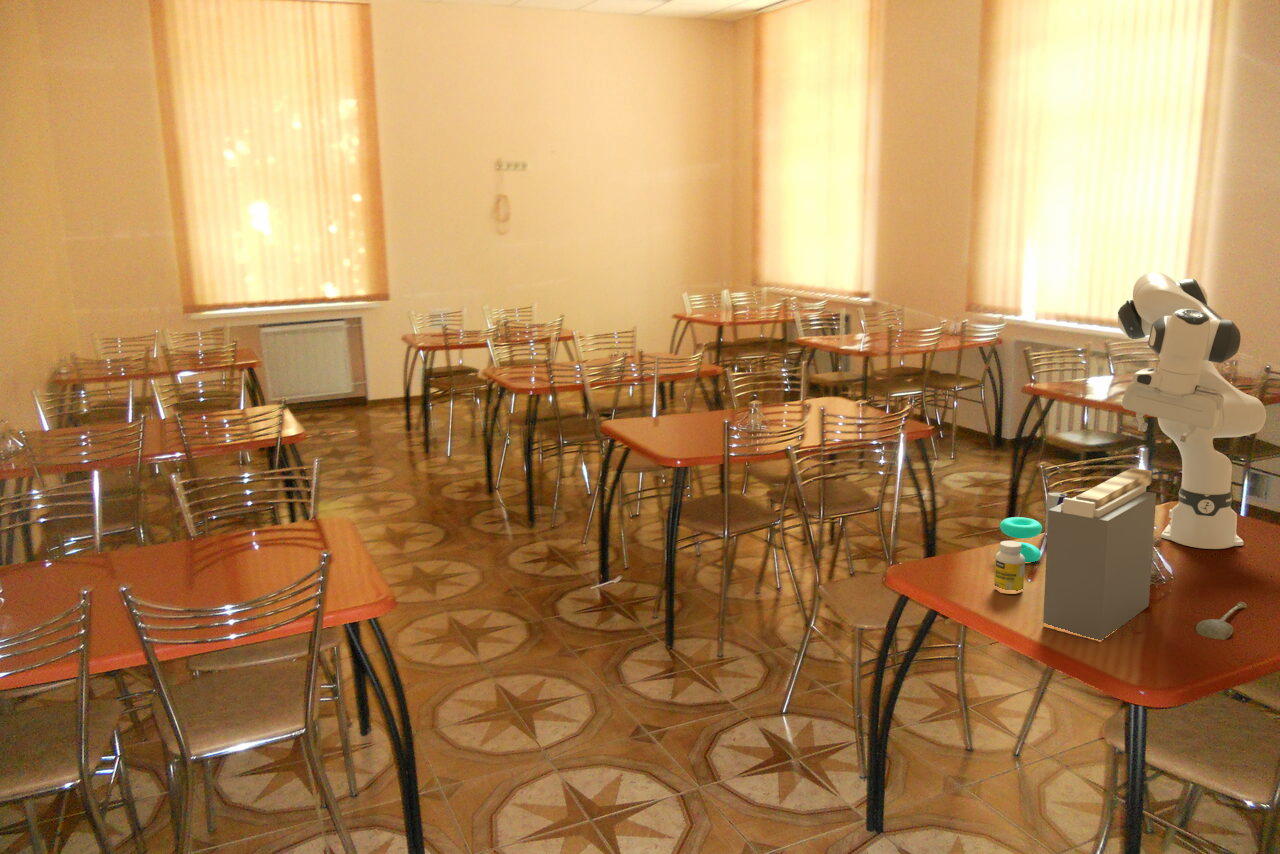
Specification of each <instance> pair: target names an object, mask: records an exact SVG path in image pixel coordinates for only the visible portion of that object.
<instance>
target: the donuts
mask: <svg viewBox="0 0 1280 854" xmlns="http://www.w3.org/2000/svg"><path fill="white" fill-rule="evenodd" d="M999 528H1000V530H1001V532H1002V533H1003V534H1005V535H1006V536H1008V537H1011V538H1015V539H1032V538H1035V537H1037V536H1039V535H1040V534H1041V532H1042V531H1043V526H1042V524H1041V522H1039V521H1038V520H1037V519H1036V520H1035V519H1034V518H1028V517H1022V516H1019V517H1018V516H1014V517H1013V516H1012V517H1007V518H1004V519H1003V520H1001V522H1000V524H999ZM1018 542H1019V543H1021V551H1020V553H1021V554H1022V555H1023V556H1024V558H1025V562H1034V563H1036V562H1038V561H1039V560H1040V559H1041V556H1042V553H1041V550H1040V549H1039V548H1038V547H1037V546H1035V545H1034V544H1031V543H1028V542H1021V541H1018ZM1000 551H1001V549H1000V548H999V551H998V552H1000ZM1035 561H1036V562H1035Z"/></svg>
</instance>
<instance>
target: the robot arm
mask: <svg viewBox="0 0 1280 854" xmlns="http://www.w3.org/2000/svg"><path fill="white" fill-rule="evenodd" d="M1117 324H1118V326H1119V328H1120V330H1121V331H1122V332H1123V334H1125V336H1127V337H1128V338H1129V339H1132V340H1140V339H1143V338H1145V337H1147V336H1149V337H1148V342H1147V345H1148V348H1150V349H1151V350H1152V351H1153V352H1154V353H1155V354H1156V355H1158V358H1159V360H1160V361H1159V362H1158V364H1157V367H1146V368H1142V369H1139V370H1137V371H1136V372H1134V374H1133V375H1132V379H1131V380H1132V381H1131V382H1130V383H1129V384H1128V386H1126V389H1125V391H1124V394H1123V397H1122V401H1121V405H1122V407H1123V409H1124V410H1127V411H1131V412H1135V418H1136V420H1137V423H1138V427H1137V431H1139V432H1143V433H1145V432H1146V431H1147V430H1148V425H1149V423H1147V422H1145V419H1144V416H1145V415H1146V416H1151V417H1154V418H1157V422H1158V426H1159V428H1160V430H1161V432H1163V434H1165V435H1166V436H1167V437H1168V438H1170V439H1171V440H1172V441H1173V442H1174V444H1175V446H1177V448H1178V451H1179V453H1180V456H1181V462H1182V471H1181V473H1182V475H1181V476H1182V477H1181V478H1182V479H1181V485H1180V487H1179V491H1178V503H1177V504H1176V505H1174V507H1173V508H1172V509H1171V508H1170V509H1169V513H1168V518H1170V520H1169V522H1168V525H1167V526H1165V528H1164V529H1163V531H1162V532H1161V534H1160V535H1161V538H1162V539H1164V540H1169V541H1172V542H1175V543H1176V544H1180V545H1183V546H1185V547H1187V546H1188V547H1191V548H1197V549H1205V550H1207V549H1208V550H1221V549H1222V550H1223V549H1228V548H1232V547H1239V546H1244V540H1243V539H1242V538H1241V537H1239V535H1238V534H1237V525H1238V524H1237V523H1238V522H1237V521H1238V519H1237V518H1238V514H1237V513H1236V512H1235V510H1233V509H1232V500H1233V491H1232V490H1231V488H1232V487H1231V484H1232V475H1233V474H1232V473H1233V464H1232V462H1231V460H1230V458H1228V457H1227V455H1225V454H1223V453H1222V452H1220V451H1218V450H1216V449H1215V448H1214V439H1217V438H1218V439H1220V438H1221V439H1222V438H1224V439H1225V438H1240V437H1243V436H1244V437H1245V436H1248V435H1249V436H1250V435H1252V434H1257V433H1259V432H1260V431H1261V430H1262V428H1263V427H1264V425H1265V424H1266V420H1267V410H1266V408H1265V406H1264V403H1263V402H1262V401H1261V400H1260V399H1259V398H1257V397H1255V396H1252V395H1250V394H1247V393H1245V392H1243V391H1241V390H1240V389H1238V388H1237V387H1235V386H1234V385H1233V384H1231V383H1230V382H1229V381H1227V380H1226V379H1225V378H1224V377H1223V376H1222V374H1220V372H1219V371H1218V370H1217V368H1216V366H1215V364H1214V363H1218V364H1222V363H1224V362H1226V361H1228V360H1230V359H1231V358H1233V357H1234V356H1235V355H1236V354H1238V351H1239V348H1240V345H1241V331H1240V329H1239V327H1238V326H1237V325H1236V324H1235V323H1234V322H1233V321H1232V320H1231V319H1224V318H1222V316H1221V315H1220V314H1218V313H1217V312H1216V311H1215V310H1213V308H1211V307H1210V306H1209V305H1208V294H1207V291H1206V289H1205V288H1204V286H1203V285H1202V284H1201V283H1199V282H1198V281H1197V280H1196V279H1194V278H1185V279H1182V280H1181V279H1180V280H1178V282H1175V280H1173V278H1172V277H1170V276H1169V275H1166V274H1165V273H1162V272H1158V271H1151V272H1147V273H1145V274H1143V275H1141V276H1140V277H1139V278H1138V279H1137V280H1136V282H1135V284H1134V286H1133V290H1132V299H1131V300H1128V299H1127V300H1126V302H1125V303H1124V304H1122V305H1121V306H1120V308H1119V309H1118V311H1117Z"/></svg>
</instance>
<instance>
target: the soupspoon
mask: <svg viewBox="0 0 1280 854" xmlns="http://www.w3.org/2000/svg"><path fill="white" fill-rule="evenodd" d="M1239 609H1240V610H1242V609H1247V604H1246V603H1245V602H1243V601H1239V602H1238V603H1237V604H1236V605H1235V606H1234V607H1232V608H1231V609H1230V610H1228V611H1227V612H1226V613H1225V614H1224V615H1222V616H1221V618H1220V619H1218V618H1210V619H1204V620H1200V621H1199V622H1198V623H1197V624H1196V625H1195V626H1196V627H1195V632H1196V633H1197V634H1198V635H1201V636H1203V637H1205V638H1209V639H1215V640H1223V641H1224V640H1227V639H1229V638H1230V637H1231V636H1232V635H1233V632H1234V627H1233V626H1232V625H1231V624H1230V623H1229V622H1227V621H1226V620H1227V618H1229V617H1230V616H1231V615H1232V614H1233V613H1234V612H1235V611H1236V610H1239Z"/></svg>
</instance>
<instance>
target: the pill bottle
mask: <svg viewBox="0 0 1280 854" xmlns="http://www.w3.org/2000/svg"><path fill="white" fill-rule="evenodd" d="M1019 542H1020V541H1016V540H1002V541H1000V542H999V550H1000V549H1001V551H1000V552H999V551H998V552H997V553H996V555H995V557H994V559H995V560H994V578H993V579H994V582H993V586H994V585H995V586H997V587H999V588H1002V589H1005V590H1016V591H1018V590H1021V589H1023V590H1024V588H1025V587H1024V584H1025V583H1024V582H1025V579H1024V578H1025V567H1026V564H1025V558H1024V556H1023V555H1022V554H1021V553H1020V551H1021V543H1019Z"/></svg>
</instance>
